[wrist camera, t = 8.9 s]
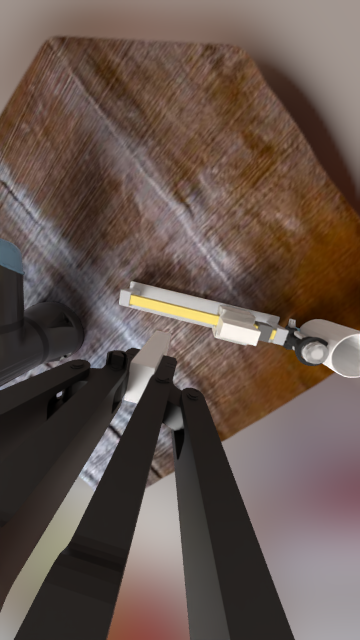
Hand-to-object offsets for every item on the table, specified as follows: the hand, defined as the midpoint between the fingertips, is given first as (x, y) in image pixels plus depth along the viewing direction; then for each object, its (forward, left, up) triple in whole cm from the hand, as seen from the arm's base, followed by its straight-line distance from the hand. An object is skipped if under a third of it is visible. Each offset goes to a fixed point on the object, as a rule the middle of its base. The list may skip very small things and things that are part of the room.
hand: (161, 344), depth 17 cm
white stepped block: (+11, 0, -21) cm, 24 cm away
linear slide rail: (+4, 0, -24) cm, 24 cm away
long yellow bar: (+5, 0, -20) cm, 20 cm away
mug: (+32, +1, -24) cm, 40 cm away
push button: (+25, 0, -24) cm, 34 cm away
